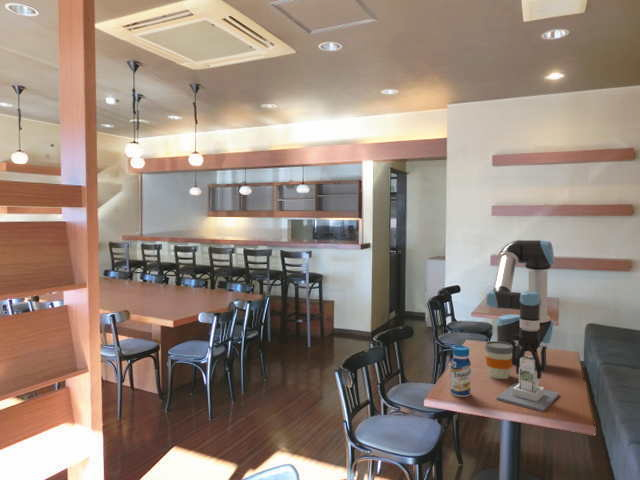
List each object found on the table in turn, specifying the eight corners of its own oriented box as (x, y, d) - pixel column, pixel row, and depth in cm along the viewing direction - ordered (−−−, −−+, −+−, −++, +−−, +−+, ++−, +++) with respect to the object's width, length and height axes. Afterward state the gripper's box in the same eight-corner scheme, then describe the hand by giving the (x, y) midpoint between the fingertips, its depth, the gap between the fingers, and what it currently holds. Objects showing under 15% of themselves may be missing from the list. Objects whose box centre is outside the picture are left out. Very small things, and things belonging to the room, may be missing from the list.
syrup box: (537, 391, 188) (538, 357, 187) (533, 395, 184) (533, 360, 183) (523, 388, 192) (524, 354, 191) (518, 392, 187) (519, 357, 187)
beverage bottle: (466, 389, 196) (467, 344, 195) (473, 397, 188) (474, 350, 187) (447, 389, 196) (448, 344, 195) (453, 397, 188) (453, 350, 187)
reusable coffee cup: (479, 375, 215) (480, 344, 214) (493, 369, 223) (493, 339, 222) (504, 382, 205) (505, 350, 204) (517, 376, 213) (518, 345, 212)
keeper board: (515, 384, 202) (515, 376, 202) (559, 395, 190) (559, 385, 190) (496, 399, 186) (496, 390, 185) (543, 411, 174) (543, 401, 173)
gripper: (503, 327, 190) (502, 380, 191) (551, 334, 177) (550, 392, 179) (509, 324, 196) (508, 376, 197) (556, 331, 183) (555, 386, 184)
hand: (528, 383), depth 188 cm, fingers closed on syrup box, 6 cm apart
